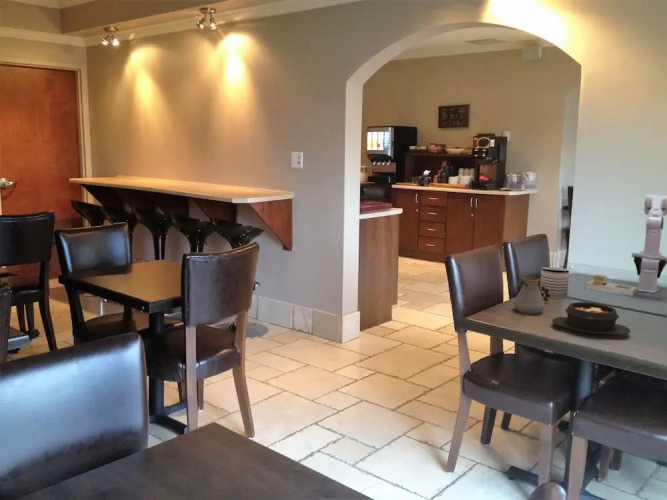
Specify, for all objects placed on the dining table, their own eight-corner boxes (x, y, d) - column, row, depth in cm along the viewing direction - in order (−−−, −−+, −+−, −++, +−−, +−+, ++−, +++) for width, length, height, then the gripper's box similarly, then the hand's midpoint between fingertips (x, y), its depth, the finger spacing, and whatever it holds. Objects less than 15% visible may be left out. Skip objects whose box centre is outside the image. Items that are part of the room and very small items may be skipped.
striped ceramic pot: (535, 295, 257) (537, 267, 255) (543, 290, 266) (545, 264, 264) (563, 299, 251) (565, 271, 249) (570, 294, 260) (572, 267, 258)
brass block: (595, 287, 276) (597, 274, 275) (604, 288, 273) (606, 276, 272) (593, 288, 273) (594, 275, 272) (602, 290, 270) (603, 277, 269)
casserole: (548, 332, 205) (550, 308, 204) (554, 318, 222) (557, 296, 220) (629, 344, 194) (632, 319, 193) (630, 329, 211) (632, 306, 210)
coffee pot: (517, 306, 238) (520, 268, 236) (547, 310, 233) (550, 272, 230) (502, 318, 220) (505, 278, 218) (534, 323, 215) (538, 282, 212)
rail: (590, 285, 280) (591, 280, 279) (637, 292, 267) (638, 287, 267) (584, 288, 273) (585, 283, 272) (632, 296, 260) (633, 290, 260)
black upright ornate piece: (532, 308, 236) (549, 304, 244) (534, 291, 235) (551, 288, 243) (518, 304, 241) (535, 300, 249) (519, 288, 240) (536, 284, 248)
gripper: (631, 243, 256) (627, 275, 258) (669, 248, 247) (665, 280, 249) (635, 241, 261) (631, 272, 264) (672, 246, 252) (668, 277, 255)
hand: (648, 276), depth 257 cm, fingers open, 7 cm apart
